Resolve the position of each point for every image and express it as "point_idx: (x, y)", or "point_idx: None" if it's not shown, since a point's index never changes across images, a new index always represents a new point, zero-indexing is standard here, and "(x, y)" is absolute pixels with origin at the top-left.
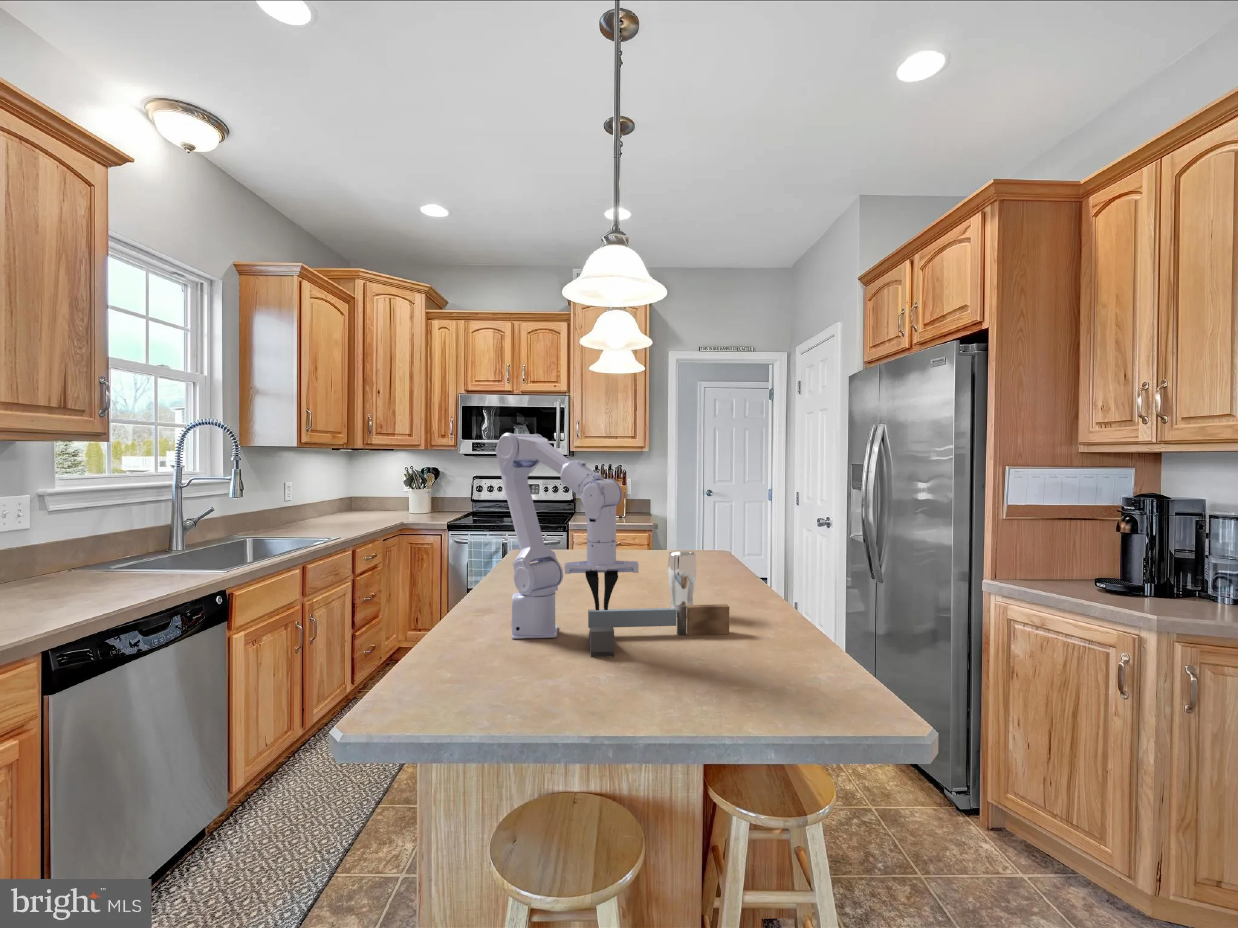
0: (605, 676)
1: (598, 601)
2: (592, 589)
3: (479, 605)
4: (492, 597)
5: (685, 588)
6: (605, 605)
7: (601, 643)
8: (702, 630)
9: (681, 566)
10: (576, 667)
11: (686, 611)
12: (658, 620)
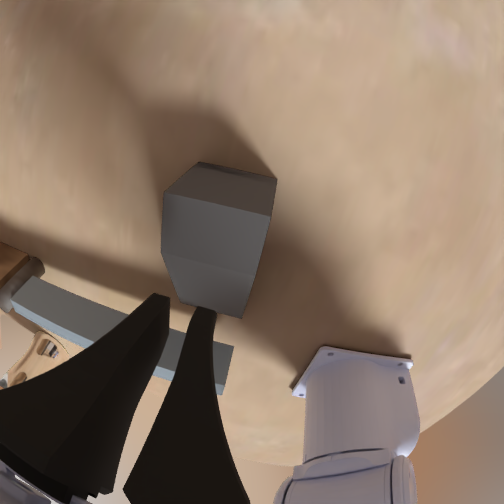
0: (278, 3)
1: (187, 339)
2: (210, 422)
3: None
4: None
5: (18, 370)
6: (153, 309)
7: (232, 185)
8: (5, 251)
9: None
10: (353, 107)
11: (38, 339)
12: (54, 297)
